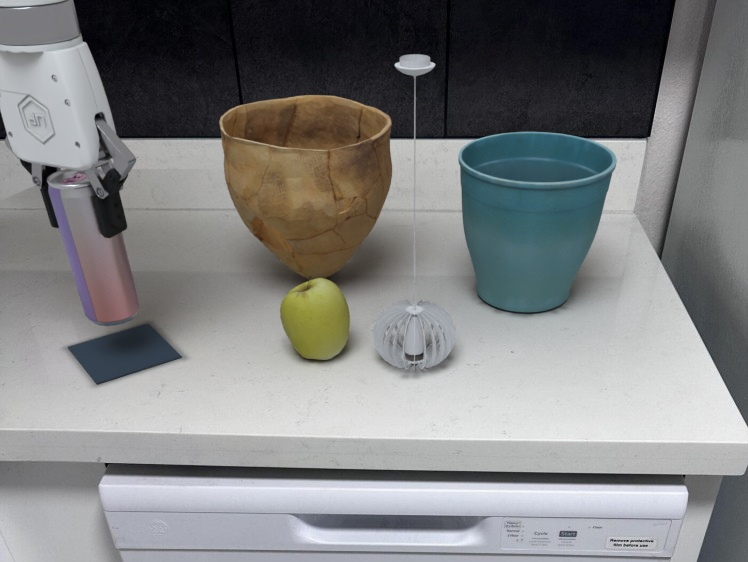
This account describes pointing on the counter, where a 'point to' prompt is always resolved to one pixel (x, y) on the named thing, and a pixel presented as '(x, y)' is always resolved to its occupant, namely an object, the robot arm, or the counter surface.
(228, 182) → the bowl
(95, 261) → the beverage can
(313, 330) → the apple
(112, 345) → the mat
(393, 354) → the pendant light
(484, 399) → the counter surface
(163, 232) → the counter surface
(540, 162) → the flower pot
